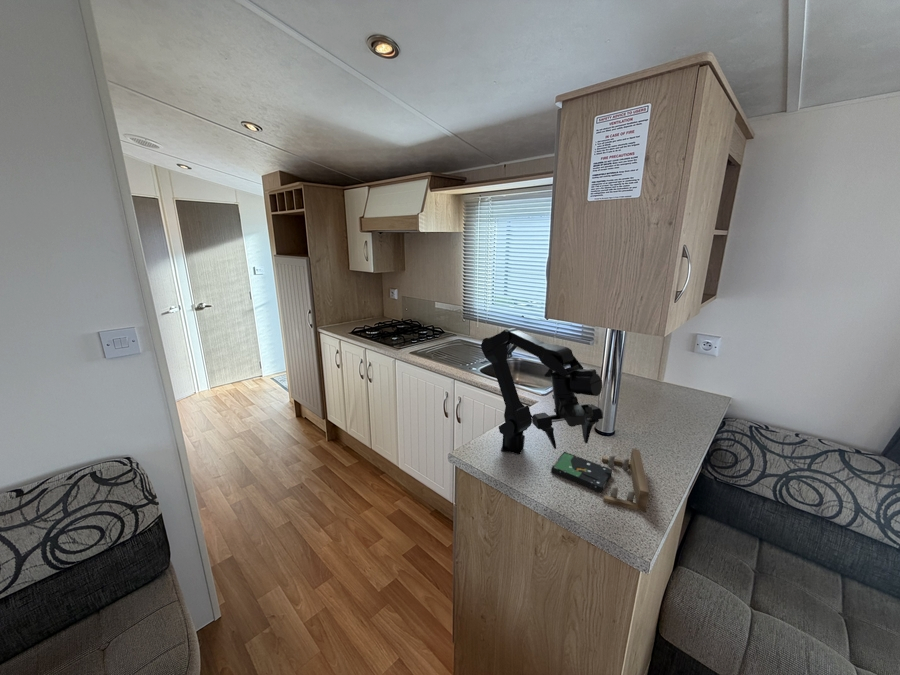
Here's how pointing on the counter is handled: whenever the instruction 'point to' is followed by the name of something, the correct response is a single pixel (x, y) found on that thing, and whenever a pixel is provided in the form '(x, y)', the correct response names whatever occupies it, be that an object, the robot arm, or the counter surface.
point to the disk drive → (582, 472)
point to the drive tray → (637, 480)
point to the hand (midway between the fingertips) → (570, 445)
